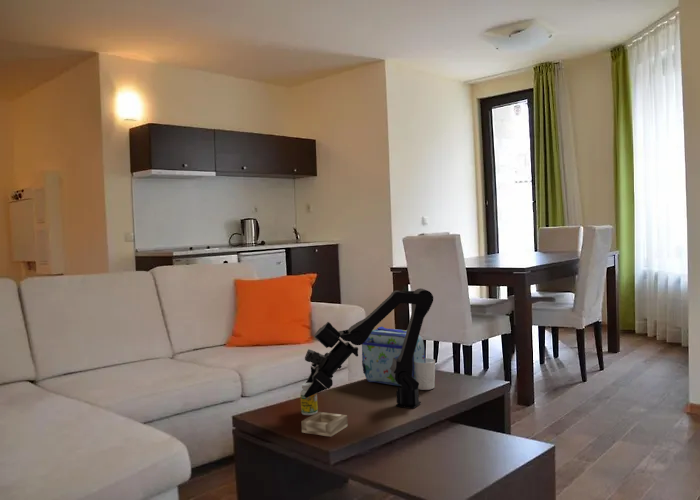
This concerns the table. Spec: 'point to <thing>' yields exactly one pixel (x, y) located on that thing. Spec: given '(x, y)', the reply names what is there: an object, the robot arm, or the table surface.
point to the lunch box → (386, 354)
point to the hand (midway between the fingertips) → (304, 392)
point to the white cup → (425, 374)
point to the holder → (324, 424)
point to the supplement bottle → (308, 401)
